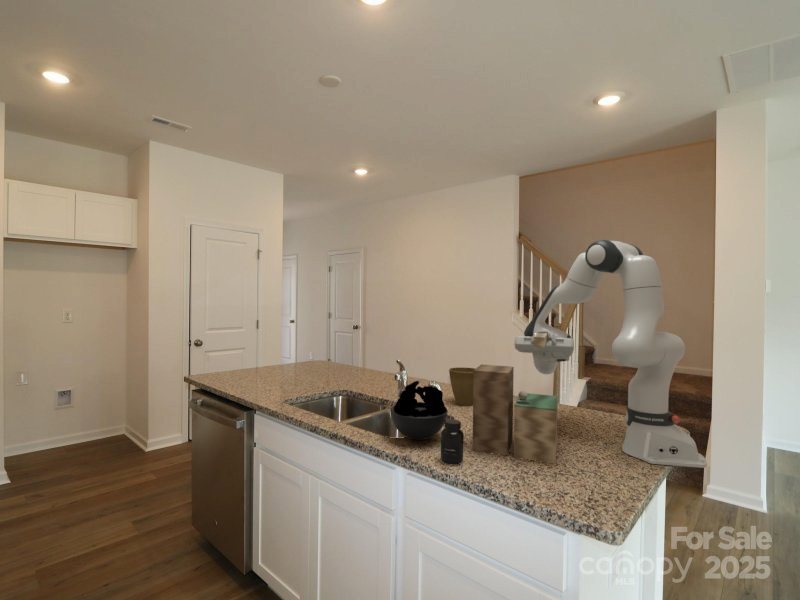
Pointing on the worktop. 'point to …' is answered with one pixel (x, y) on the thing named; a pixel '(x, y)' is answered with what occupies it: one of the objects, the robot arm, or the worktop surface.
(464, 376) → the plant pot
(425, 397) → the bowl of black rocks
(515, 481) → the worktop surface
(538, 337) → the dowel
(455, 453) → the supplement bottle
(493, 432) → the walnut stand
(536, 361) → the robot arm
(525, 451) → the green topped wooden block
